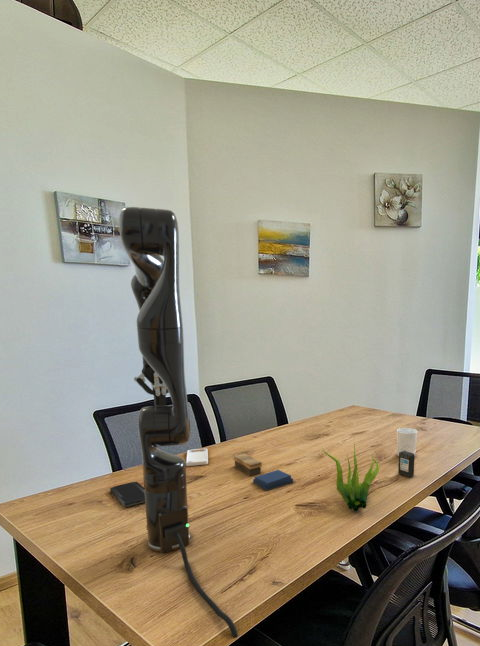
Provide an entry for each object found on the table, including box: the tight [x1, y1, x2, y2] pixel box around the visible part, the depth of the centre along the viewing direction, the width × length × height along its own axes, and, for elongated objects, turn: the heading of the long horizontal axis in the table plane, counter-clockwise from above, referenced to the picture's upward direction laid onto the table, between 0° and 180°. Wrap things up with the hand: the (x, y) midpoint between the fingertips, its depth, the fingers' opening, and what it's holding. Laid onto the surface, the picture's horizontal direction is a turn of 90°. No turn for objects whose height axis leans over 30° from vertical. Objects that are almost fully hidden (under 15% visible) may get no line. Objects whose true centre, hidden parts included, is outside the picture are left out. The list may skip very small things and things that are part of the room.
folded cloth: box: [252, 469, 294, 491], centre depth 139 cm, size 8×10×2 cm
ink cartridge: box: [397, 451, 416, 478], centre depth 145 cm, size 5×2×8 cm, turn 44°
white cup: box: [396, 427, 419, 457], centre depth 164 cm, size 8×8×10 cm
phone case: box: [185, 447, 209, 467], centre depth 160 cm, size 7×1×15 cm
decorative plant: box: [321, 436, 380, 513], centre depth 132 cm, size 18×30×15 cm, turn 163°
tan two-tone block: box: [233, 453, 263, 477], centre depth 149 cm, size 12×4×4 cm, turn 40°
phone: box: [109, 481, 145, 508], centre depth 128 cm, size 8×1×15 cm
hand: (160, 407), depth 123 cm, fingers closed
